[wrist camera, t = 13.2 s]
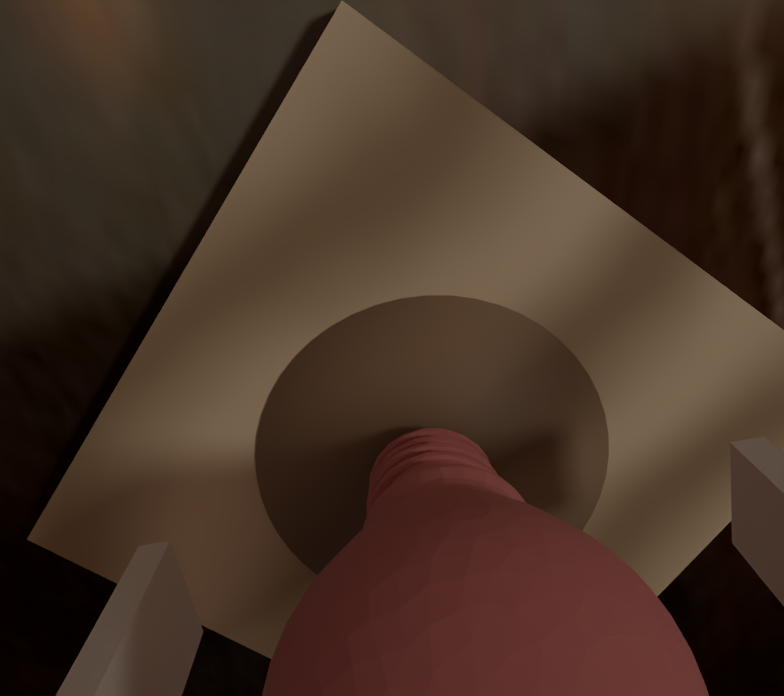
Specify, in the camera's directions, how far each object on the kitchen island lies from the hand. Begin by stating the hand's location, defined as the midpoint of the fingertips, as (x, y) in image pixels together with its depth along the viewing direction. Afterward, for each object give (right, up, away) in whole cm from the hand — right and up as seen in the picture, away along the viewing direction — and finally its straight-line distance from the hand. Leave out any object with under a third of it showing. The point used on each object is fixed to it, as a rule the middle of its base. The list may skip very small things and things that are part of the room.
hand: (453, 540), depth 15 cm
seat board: (0, +1, +4) cm, 4 cm away
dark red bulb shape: (0, +1, +3) cm, 4 cm away
